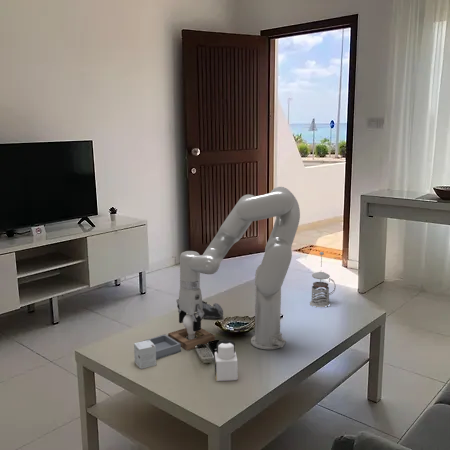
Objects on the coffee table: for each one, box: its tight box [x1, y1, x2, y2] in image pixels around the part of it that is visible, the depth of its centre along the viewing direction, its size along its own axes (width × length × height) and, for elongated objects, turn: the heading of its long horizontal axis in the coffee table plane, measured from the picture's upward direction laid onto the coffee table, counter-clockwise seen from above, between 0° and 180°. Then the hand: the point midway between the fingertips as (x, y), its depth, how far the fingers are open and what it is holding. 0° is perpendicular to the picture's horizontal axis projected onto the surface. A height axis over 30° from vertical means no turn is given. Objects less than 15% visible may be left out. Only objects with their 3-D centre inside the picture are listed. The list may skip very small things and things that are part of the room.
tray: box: [140, 334, 182, 361], centre depth 185 cm, size 11×11×3 cm
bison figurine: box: [202, 300, 224, 320], centre depth 218 cm, size 12×7×10 cm
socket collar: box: [167, 327, 216, 352], centre depth 194 cm, size 13×13×2 cm
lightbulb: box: [182, 313, 198, 340], centre depth 193 cm, size 6×6×11 cm
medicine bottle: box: [214, 339, 239, 382], centre depth 166 cm, size 7×7×12 cm
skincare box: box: [133, 339, 157, 370], centre depth 175 cm, size 6×6×7 cm
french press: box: [309, 251, 336, 308], centre depth 230 cm, size 10×12×25 cm
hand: (189, 326), depth 193 cm, fingers open, 9 cm apart
